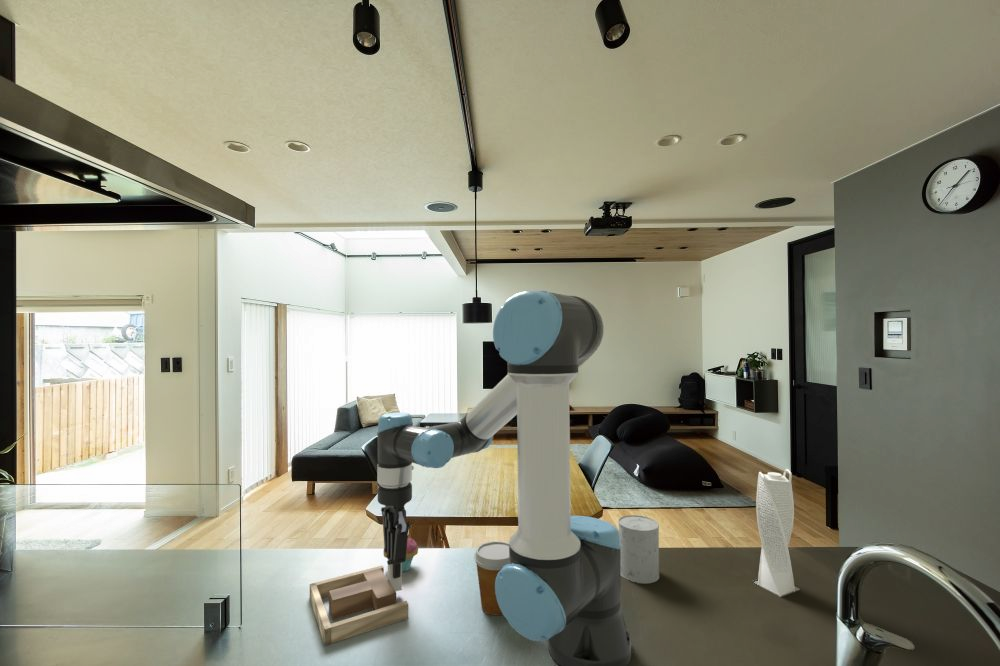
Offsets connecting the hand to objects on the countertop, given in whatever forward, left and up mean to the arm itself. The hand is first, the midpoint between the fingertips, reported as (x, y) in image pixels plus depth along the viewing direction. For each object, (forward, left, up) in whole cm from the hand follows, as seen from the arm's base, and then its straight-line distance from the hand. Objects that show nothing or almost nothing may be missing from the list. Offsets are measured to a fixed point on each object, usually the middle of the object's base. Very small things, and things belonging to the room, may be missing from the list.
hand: (394, 589), depth 100 cm
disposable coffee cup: (-15, -17, -2) cm, 23 cm away
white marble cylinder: (-21, -54, -2) cm, 58 cm away
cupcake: (+12, -5, -2) cm, 13 cm away
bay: (0, +8, -1) cm, 8 cm away
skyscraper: (-42, -76, -2) cm, 87 cm away
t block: (0, +8, -2) cm, 8 cm away
